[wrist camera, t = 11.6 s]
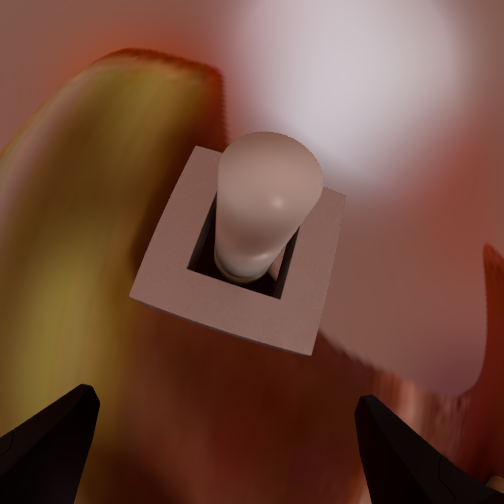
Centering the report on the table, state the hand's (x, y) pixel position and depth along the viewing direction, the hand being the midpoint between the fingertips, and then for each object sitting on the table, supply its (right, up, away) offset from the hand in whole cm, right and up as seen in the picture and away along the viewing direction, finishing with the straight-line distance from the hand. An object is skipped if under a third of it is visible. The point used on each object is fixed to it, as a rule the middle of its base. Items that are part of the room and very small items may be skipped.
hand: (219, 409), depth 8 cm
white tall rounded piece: (0, +5, +15) cm, 16 cm away
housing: (0, +5, +15) cm, 16 cm away
